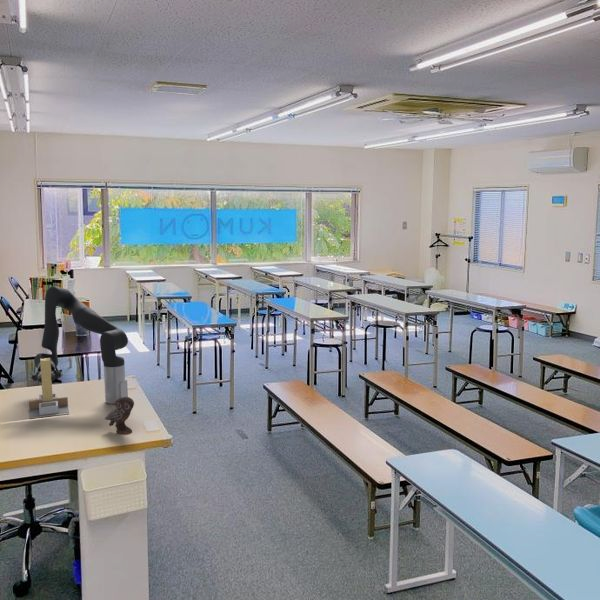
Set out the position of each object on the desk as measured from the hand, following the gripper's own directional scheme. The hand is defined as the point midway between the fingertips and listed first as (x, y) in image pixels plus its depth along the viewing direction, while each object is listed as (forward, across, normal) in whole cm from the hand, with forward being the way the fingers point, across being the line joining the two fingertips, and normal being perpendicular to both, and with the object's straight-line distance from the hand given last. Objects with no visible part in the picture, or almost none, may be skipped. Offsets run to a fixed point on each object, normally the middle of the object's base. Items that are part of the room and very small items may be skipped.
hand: (46, 379), depth 270 cm
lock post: (-3, 0, +10) cm, 10 cm away
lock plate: (-9, 0, +16) cm, 18 cm away
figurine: (+34, +26, +15) cm, 46 cm away
